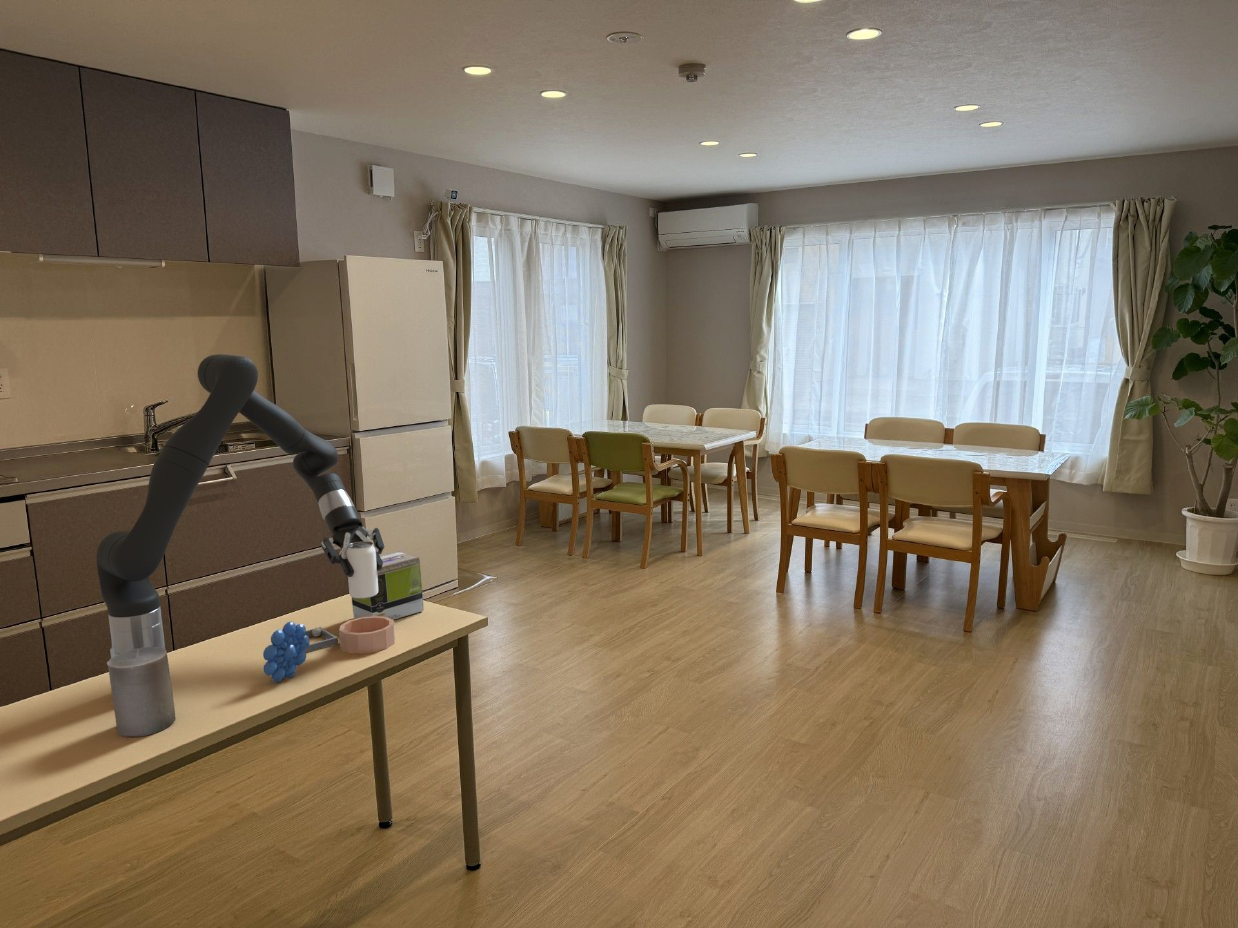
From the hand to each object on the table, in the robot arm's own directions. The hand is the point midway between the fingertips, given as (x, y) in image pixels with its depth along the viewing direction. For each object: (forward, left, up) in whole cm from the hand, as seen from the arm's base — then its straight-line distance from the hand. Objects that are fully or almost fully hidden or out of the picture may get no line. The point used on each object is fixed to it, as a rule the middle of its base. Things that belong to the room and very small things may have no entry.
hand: (365, 571), depth 193 cm
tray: (-10, +12, -18) cm, 23 cm away
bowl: (0, +2, -18) cm, 18 cm away
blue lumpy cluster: (-21, -4, -18) cm, 28 cm away
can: (0, +2, -6) cm, 6 cm away
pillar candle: (-49, -7, -18) cm, 53 cm away
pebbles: (-10, +12, -18) cm, 23 cm away
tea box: (+13, +17, -18) cm, 28 cm away
